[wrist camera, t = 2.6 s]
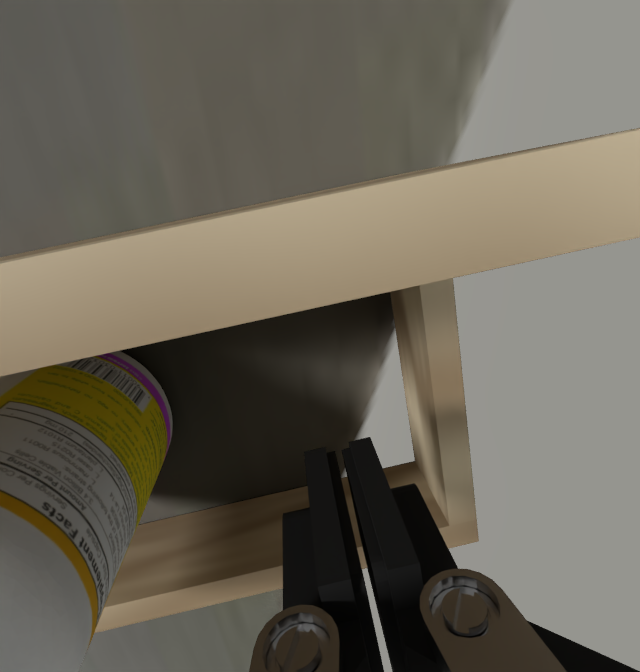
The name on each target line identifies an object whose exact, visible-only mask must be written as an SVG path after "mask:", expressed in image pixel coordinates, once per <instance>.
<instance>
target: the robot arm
mask: <svg viewBox="0 0 640 672" xmlns="http://www.w3.org/2000/svg"><path fill="white" fill-rule="evenodd" d="M349 447H350V448H346V449H342V454H343V458H344V463H345V468H346V472H347V477H348V482H349V487H350V491H351V496H352V501H353V506H354V510H355V515H356V520H357V525H358V529H359V534H360V539H361V543H362V548H363V552H364V556H365V560H366V564H367V568H368V572H369V576H370V580H371V584H372V589H373V592H374V597H375V601H376V605H377V609H378V613H379V617H380V622H381V626H382V630H383V634H384V638H385V642H386V646H387V650H388V654H389V658H390V663H391V667H392V671H393V672H640V671H637V670H635V669H633V668H631V667H629V666H626V665H624V664H622V663H620V662H618V661H615V660H613V659H611V658H609V657H606V656H604V655H602V654H600V653H598V652H595V651H593V650H591V649H589V648H586V647H584V646H582V645H580V644H578V643H575V642H573V641H571V640H569V639H566V638H564V637H562V636H560V635H558V634H555V633H553V632H551V631H549V630H547V629H544V628H542V627H540V626H538V625H536V624H533V623H531V622H529V621H527V620H526V619H525V618H524V617H523V615H522V614H521V613H520V612H519V610H518V609H517V608H516V607H515V605H514V604H513V603H512V601H511V600H510V599H509V598H508V596H507V595H506V594H505V593H504V591H503V590H502V589H501V588H500V587H499V586H498V585H497V584H496V583H495V582H494V581H493V580H492V579H490V578H488V577H486V576H485V575H483V574H481V573H479V572H475V571H472V570H468V569H458V568H457V565H456V563H455V562H454V559H453V557H452V556H451V553H450V551H449V549H448V547H447V545H446V543H445V541H444V539H443V537H442V535H441V533H440V531H439V529H438V527H437V525H436V523H435V521H434V519H433V517H432V515H431V513H430V511H429V509H428V507H427V505H426V503H425V501H424V499H423V497H422V495H421V493H420V491H419V489H418V487H417V485H416V484H415V483H413V484H409V485H404V486H400V487H396V488H391V489H390V486H389V484H388V481H387V479H386V476H385V474H384V471H383V469H382V466H381V464H380V461H379V458H378V456H377V454H376V451H375V448H374V446H373V444H372V441H371V438H370V437H368V438H364V439H359V440H355V441H351V442H349ZM304 456H305V466H306V476H307V486H308V496H309V506H310V507H308V508H304V509H300V510H295V511H291V512H287V513H283V517H282V541H283V611H281V612H279V613H278V614H276V615H275V616H274V617H273V618H272V619H271V620H270V621H268V622H267V623H266V625H265V626H264V628H263V629H262V631H261V632H260V634H259V635H258V638H257V641H256V644H255V647H254V650H253V655H252V660H251V665H250V670H249V672H384V670H383V665H382V660H381V656H380V651H379V646H378V642H377V637H376V632H375V628H374V623H373V619H372V614H371V609H370V605H369V600H368V595H367V591H366V586H365V582H364V577H363V573H362V568H361V564H360V559H359V555H358V550H357V546H356V542H355V537H354V533H353V528H352V524H351V520H350V515H349V511H348V506H347V502H346V498H345V493H344V489H343V484H342V480H341V476H340V471H339V467H338V462H337V458H336V454H335V451H333V452H329V453H327V452H326V448H325V447H324V448H320V449H315V450H311V451H306V452H304Z"/></svg>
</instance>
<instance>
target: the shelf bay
mask: <svg viewBox="0 0 640 672" xmlns="http://www.w3.org/2000/svg"><path fill="white" fill-rule="evenodd" d="M639 237H640V128H637V129H631V130H626V131H621V132H616V133H611V134H606V135H600V136H595V137H590V138H585V139H580V140H575V141H569V142H564V143H559V144H554V145H548V146H543V147H538V148H533V149H528V150H523V151H518V152H512V153H507V154H502V155H496V156H491V157H486V158H481V159H476V160H471V161H465V162H460V163H455V164H450V165H445V166H439V167H434V168H429V169H424V170H419V171H413V172H408V173H403V174H398V175H393V176H388V177H384V178H379V179H374V180H369V181H365V182H360V183H355V184H350V185H345V186H341V187H336V188H331V189H326V190H321V191H317V192H312V193H307V194H302V195H297V196H293V197H288V198H283V199H278V200H274V201H269V202H264V203H259V204H254V205H250V206H245V207H240V208H235V209H230V210H226V211H221V212H216V213H211V214H206V215H202V216H197V217H192V218H187V219H183V220H178V221H173V222H168V223H163V224H159V225H154V226H149V227H144V228H139V229H135V230H130V231H125V232H120V233H115V234H111V235H106V236H101V237H96V238H92V239H87V240H82V241H77V242H72V243H68V244H63V245H58V246H53V247H48V248H44V249H39V250H34V251H29V252H24V253H20V254H15V255H10V256H5V257H1V258H0V376H5V375H9V374H14V373H19V372H23V371H28V370H32V369H37V368H42V367H46V366H51V365H55V364H60V363H65V362H69V361H74V360H78V359H83V358H88V357H92V356H97V355H101V354H106V353H111V352H115V351H120V350H124V349H129V348H133V347H138V346H143V345H147V344H152V343H156V342H161V341H166V340H170V339H175V338H179V337H184V336H189V335H193V334H198V333H202V332H207V331H212V330H216V329H221V328H225V327H230V326H235V325H239V324H244V323H248V322H253V321H258V320H262V319H267V318H271V317H276V316H280V315H285V314H290V313H294V312H299V311H303V310H308V309H313V308H317V307H322V306H326V305H331V304H336V303H340V302H345V301H349V300H354V299H359V298H363V297H368V296H372V295H377V294H382V293H386V292H390V294H391V301H392V308H393V315H394V322H395V328H396V335H397V342H398V349H399V355H400V362H401V369H402V376H403V381H404V389H405V396H406V403H407V409H408V416H409V423H410V430H411V437H412V443H413V450H414V457H415V461H413V462H409V463H405V464H400V465H397V466H392V467H388V468H383V471H384V474H385V476H386V479H387V481H388V484H389V486H390V489H391V488H396V487H400V486H404V485H409V484H413V483H415V484H416V485H417V487H418V489H419V491H420V493H421V495H422V497H423V499H424V501H425V503H426V505H427V507H428V509H429V511H430V513H431V515H432V517H433V519H434V521H435V523H436V525H437V527H438V529H439V531H440V533H441V535H442V537H443V539H444V541H445V543H446V545H447V547H448V548H452V547H457V546H461V545H465V544H469V543H473V542H477V541H479V539H478V529H477V519H476V508H475V498H474V488H473V479H472V468H471V458H470V448H469V437H468V427H467V417H466V407H465V398H464V387H463V377H462V367H461V356H460V346H459V336H458V326H457V317H456V306H455V296H454V285H453V278H455V277H460V276H464V275H469V274H473V273H478V272H483V271H487V270H491V269H496V268H501V267H505V266H510V265H515V264H519V263H524V262H528V261H533V260H538V259H542V258H547V257H551V256H556V255H561V254H565V253H570V252H574V251H579V250H583V249H588V248H593V247H597V246H602V245H606V244H611V243H616V242H620V241H625V240H630V239H634V238H639ZM341 480H342V484H343V489H344V493H345V498H346V502H347V506H348V511H349V515H350V520H351V524H352V528H353V533H354V537H355V542H356V546H357V550H358V555H359V559H360V564H361V568H362V569H365V568H367V564H366V560H365V556H364V552H363V548H362V543H361V539H360V534H359V529H358V525H357V520H356V515H355V510H354V506H353V501H352V496H351V491H350V487H349V482H348V477H344V478H341ZM308 507H310V506H309V496H308V486H305V487H301V488H296V489H292V490H288V491H284V492H279V493H275V494H271V495H266V496H262V497H258V498H253V499H249V500H245V501H240V502H236V503H232V504H227V505H223V506H219V507H214V508H210V509H206V510H201V511H197V512H193V513H188V514H184V515H180V516H175V517H171V518H167V519H162V520H158V521H154V522H149V523H145V524H141V525H138V526H137V528H136V531H135V533H134V536H133V538H132V540H131V543H130V545H129V548H128V550H127V553H126V555H125V558H124V560H123V563H122V565H121V568H120V570H119V572H118V575H117V577H116V580H115V582H114V585H113V587H112V589H111V592H110V594H109V597H108V599H107V602H106V604H105V607H104V609H103V612H102V614H101V617H100V619H99V622H98V624H97V627H96V630H95V632H94V633H96V632H101V631H105V630H109V629H113V628H117V627H121V626H126V625H130V624H134V623H138V622H142V621H147V620H151V619H155V618H159V617H163V616H168V615H172V614H176V613H180V612H184V611H189V610H193V609H197V608H201V607H205V606H209V605H214V604H218V603H222V602H226V601H230V600H235V599H239V598H243V597H247V596H251V595H256V594H260V593H264V592H268V591H272V590H277V589H281V588H283V541H282V517H283V513H287V512H291V511H295V510H300V509H304V508H308Z"/></svg>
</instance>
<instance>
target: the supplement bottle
mask: <svg viewBox="0 0 640 672" xmlns="http://www.w3.org/2000/svg"><path fill="white" fill-rule="evenodd" d="M172 429H173V420H172V412H171V408H170V405H169V403H168V400H167V397H166V395H165V393H164V391H163V389H162V388H161V386H160V384H159V383H158V381H157V380H156V379H155V378H154V376H153V375H152V374H151V373H150V372H149V371H148V370H147V369H146V368H145V367H144V366H143V365H141V364H140V363H139V362H137V361H136V360H135V359H133V358H132V357H130V356H128V355H126V354H125V353H123V352H120V351H115V352H111V353H106V354H101V355H97V356H92V357H88V358H83V359H78V360H74V361H69V362H65V363H60V364H55V365H51V366H46V367H42V368H37V369H32V370H28V371H23V372H19V373H14V374H9V375H5V376H0V672H78V671H79V669H80V666H81V664H82V661H83V659H84V657H85V654H86V652H87V650H88V647H89V645H90V642H91V640H92V637H93V635H94V632H95V630H96V627H97V624H98V622H99V619H100V617H101V614H102V612H103V609H104V607H105V604H106V602H107V599H108V597H109V594H110V592H111V589H112V587H113V585H114V582H115V580H116V577H117V575H118V572H119V570H120V568H121V565H122V563H123V560H124V558H125V555H126V553H127V550H128V548H129V545H130V543H131V540H132V538H133V536H134V533H135V531H136V528H137V526H138V523H139V521H140V519H141V516H142V514H143V511H144V509H145V506H146V504H147V501H148V499H149V496H150V494H151V492H152V489H153V487H154V484H155V482H156V479H157V477H158V474H159V472H160V470H161V467H162V464H163V462H164V460H165V457H166V454H167V451H168V449H169V446H170V442H171V438H172Z"/></svg>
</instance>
